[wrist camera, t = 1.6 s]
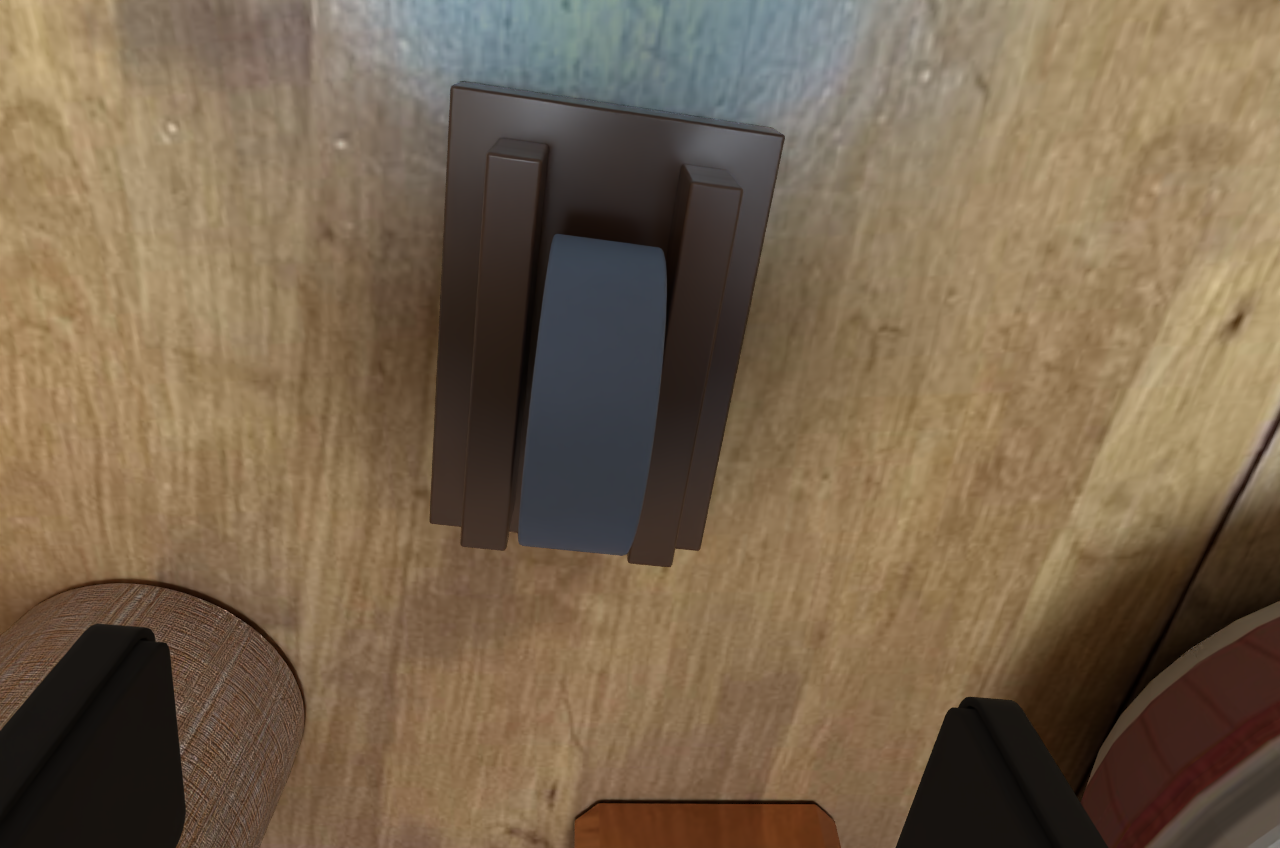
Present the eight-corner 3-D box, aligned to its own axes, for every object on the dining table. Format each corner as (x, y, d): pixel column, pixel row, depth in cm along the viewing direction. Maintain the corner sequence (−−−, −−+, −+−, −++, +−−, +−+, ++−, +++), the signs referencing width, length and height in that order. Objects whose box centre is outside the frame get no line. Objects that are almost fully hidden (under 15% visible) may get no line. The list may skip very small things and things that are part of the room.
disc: (559, 208, 21) (542, 274, 15) (655, 221, 22) (678, 292, 15) (533, 461, 24) (508, 609, 18) (618, 470, 24) (625, 620, 18)
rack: (459, 80, 21) (430, 92, 18) (775, 127, 22) (808, 149, 18) (438, 498, 26) (411, 575, 23) (695, 525, 27) (709, 603, 23)
